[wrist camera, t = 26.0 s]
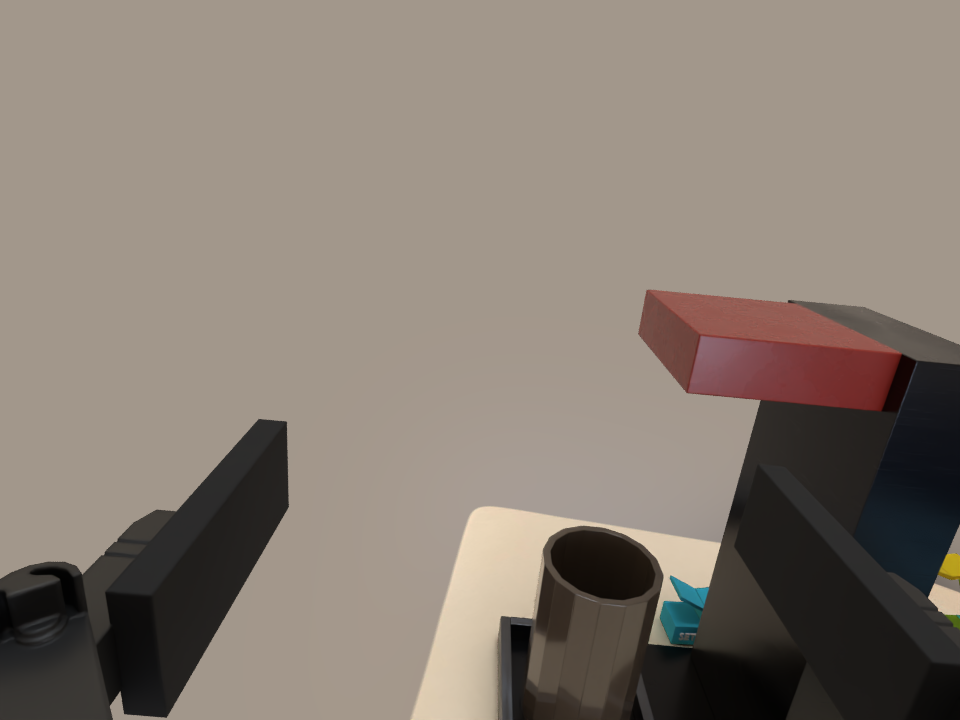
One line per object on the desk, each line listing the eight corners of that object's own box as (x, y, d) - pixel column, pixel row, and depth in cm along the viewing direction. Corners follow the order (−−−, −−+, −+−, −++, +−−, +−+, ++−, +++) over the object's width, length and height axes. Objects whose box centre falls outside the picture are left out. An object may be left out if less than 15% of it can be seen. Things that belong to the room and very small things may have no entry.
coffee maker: (498, 814, 35) (569, 332, 25) (497, 639, 48) (544, 274, 38) (834, 845, 35) (1043, 377, 25) (743, 661, 48) (857, 304, 38)
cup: (523, 757, 37) (548, 598, 33) (518, 661, 45) (539, 521, 40) (637, 767, 38) (678, 610, 33) (615, 670, 45) (646, 531, 40)
